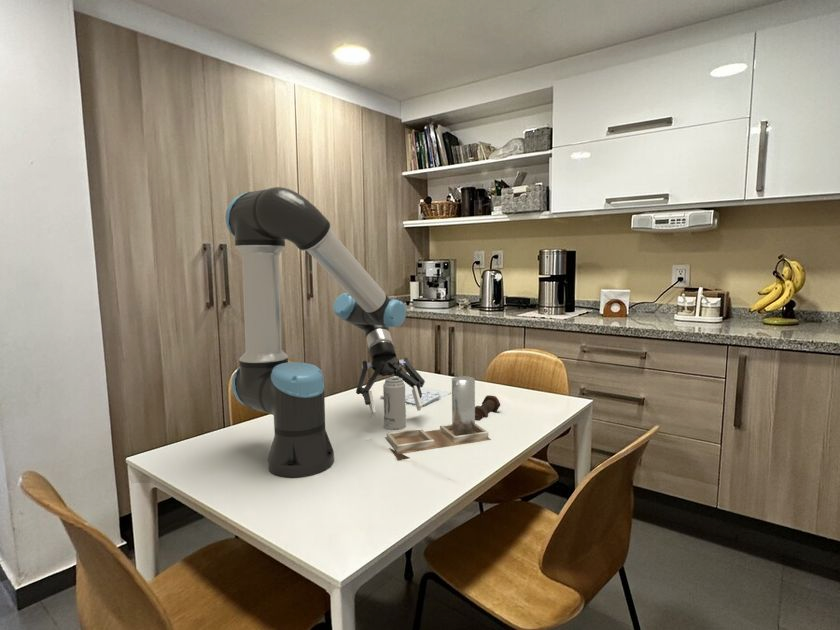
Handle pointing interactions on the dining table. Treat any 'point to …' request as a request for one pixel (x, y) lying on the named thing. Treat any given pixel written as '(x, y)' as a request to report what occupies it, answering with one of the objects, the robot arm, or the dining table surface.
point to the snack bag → (423, 395)
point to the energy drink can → (394, 404)
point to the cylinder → (463, 405)
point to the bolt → (487, 407)
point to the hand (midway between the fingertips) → (397, 411)
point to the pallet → (430, 439)
